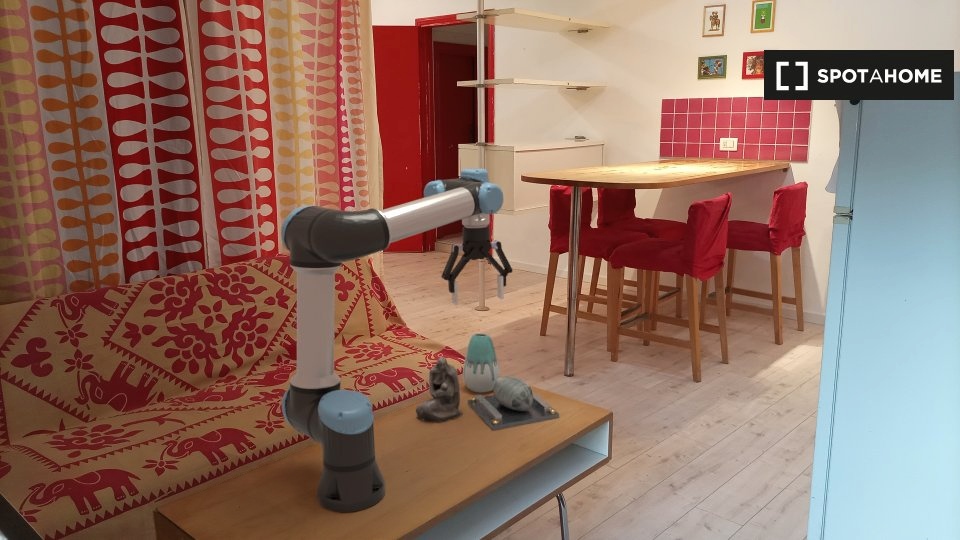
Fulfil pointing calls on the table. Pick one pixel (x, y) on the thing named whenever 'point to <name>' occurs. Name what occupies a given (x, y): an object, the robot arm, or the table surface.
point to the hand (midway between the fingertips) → (478, 300)
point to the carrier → (510, 412)
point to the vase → (481, 364)
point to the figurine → (441, 394)
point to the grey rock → (513, 393)
